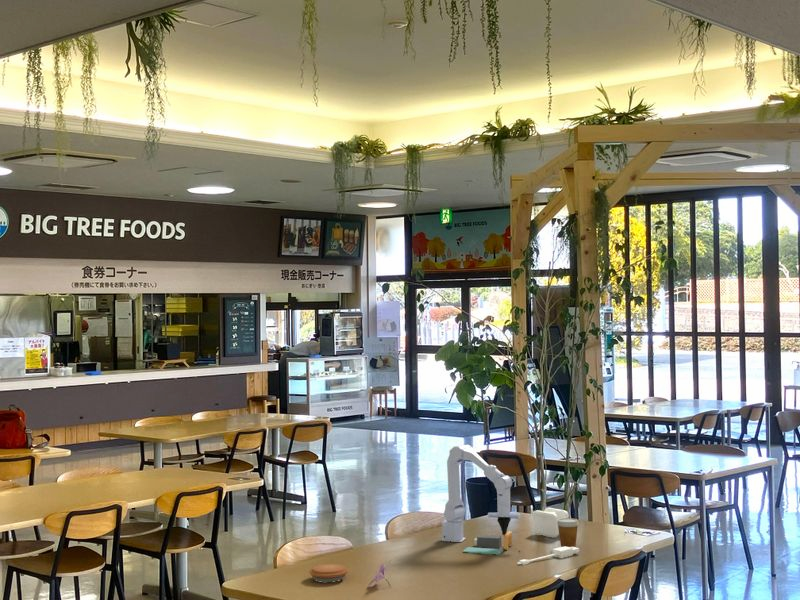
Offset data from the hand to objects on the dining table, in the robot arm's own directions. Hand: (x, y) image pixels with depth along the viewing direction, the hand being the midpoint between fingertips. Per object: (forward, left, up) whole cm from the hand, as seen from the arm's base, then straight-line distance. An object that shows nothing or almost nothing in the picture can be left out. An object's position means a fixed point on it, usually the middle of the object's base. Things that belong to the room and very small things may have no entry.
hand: (504, 534), depth 423 cm
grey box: (-7, 0, -6) cm, 9 cm away
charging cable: (+23, -15, -6) cm, 28 cm away
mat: (-7, -10, -6) cm, 14 cm away
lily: (-30, -74, -6) cm, 80 cm away
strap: (+2, 0, -6) cm, 6 cm away
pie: (-53, -71, -6) cm, 89 cm away
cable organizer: (+15, +30, -6) cm, 34 cm away
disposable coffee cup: (+27, +8, -6) cm, 29 cm away
